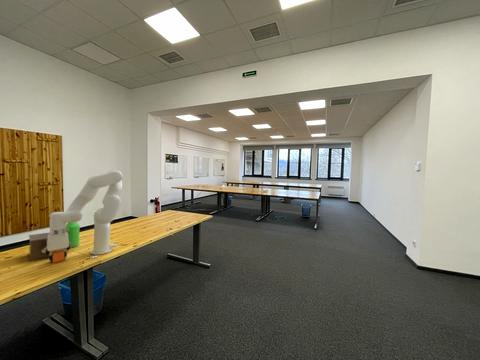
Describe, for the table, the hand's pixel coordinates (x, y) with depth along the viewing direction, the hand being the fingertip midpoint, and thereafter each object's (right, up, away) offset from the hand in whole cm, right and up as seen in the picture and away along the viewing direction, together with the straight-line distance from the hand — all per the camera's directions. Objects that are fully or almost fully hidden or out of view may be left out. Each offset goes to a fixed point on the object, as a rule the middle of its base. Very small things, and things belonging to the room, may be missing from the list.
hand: (58, 259), depth 124 cm
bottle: (-13, 0, +25) cm, 28 cm away
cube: (0, 0, 0) cm, 0 cm away
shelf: (-17, 0, +7) cm, 19 cm away
